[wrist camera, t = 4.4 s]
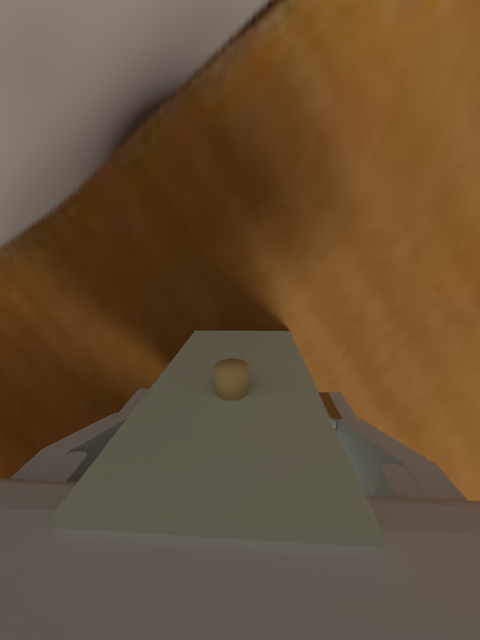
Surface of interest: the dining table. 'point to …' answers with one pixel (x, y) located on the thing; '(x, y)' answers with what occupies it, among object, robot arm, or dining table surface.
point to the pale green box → (227, 453)
